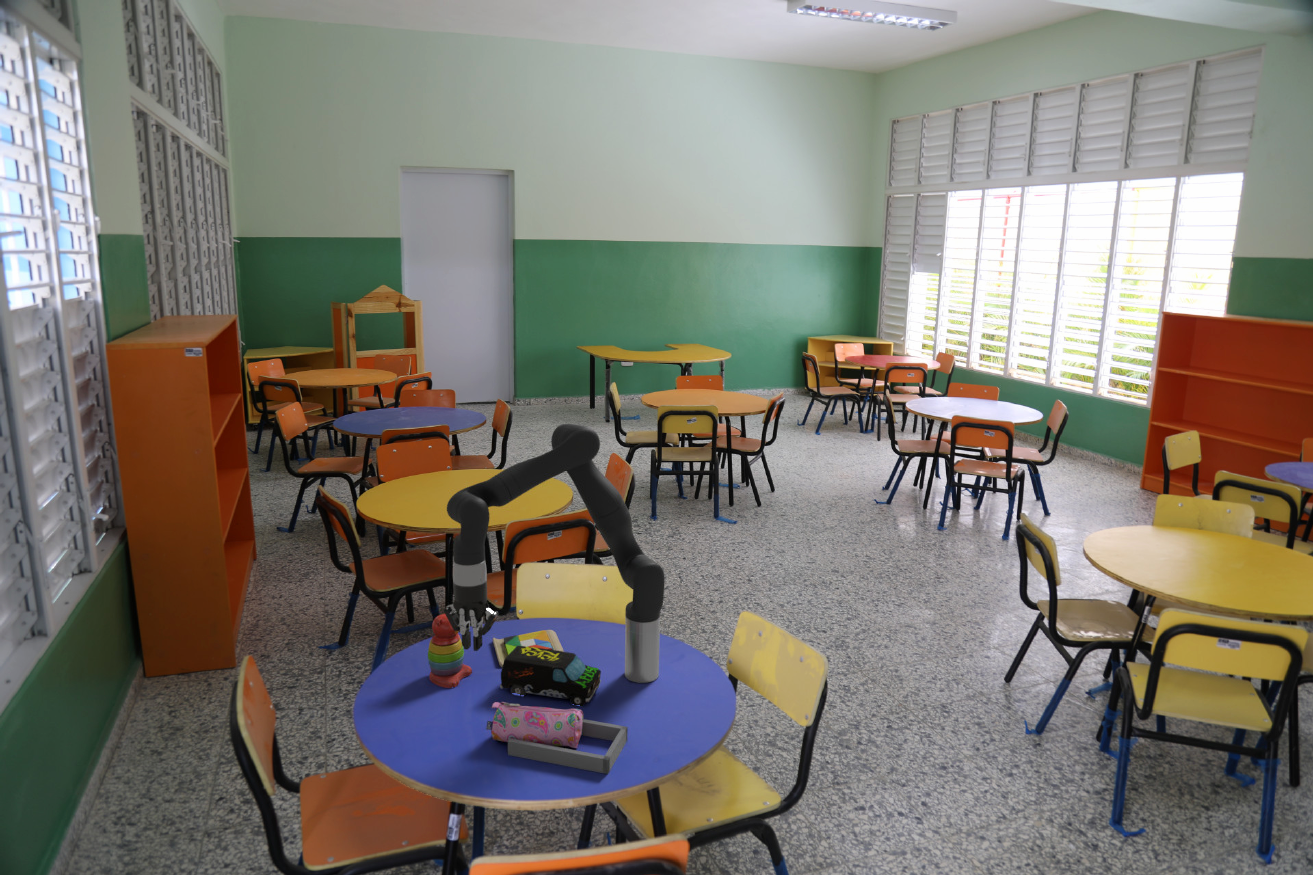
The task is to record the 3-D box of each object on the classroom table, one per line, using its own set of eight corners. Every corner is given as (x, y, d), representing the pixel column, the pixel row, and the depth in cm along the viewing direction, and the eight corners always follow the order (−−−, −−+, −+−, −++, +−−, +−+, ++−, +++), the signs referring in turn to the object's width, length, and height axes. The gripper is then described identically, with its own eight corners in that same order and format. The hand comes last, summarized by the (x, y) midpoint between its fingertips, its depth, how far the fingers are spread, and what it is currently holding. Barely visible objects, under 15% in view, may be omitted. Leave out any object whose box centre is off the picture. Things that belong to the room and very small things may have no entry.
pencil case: (486, 747, 196) (485, 711, 194) (499, 726, 204) (498, 692, 202) (576, 757, 192) (576, 721, 190) (586, 735, 201) (586, 701, 199)
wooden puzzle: (492, 642, 249) (491, 631, 248) (555, 635, 254) (555, 624, 253) (499, 670, 232) (499, 658, 232) (567, 661, 238) (567, 650, 237)
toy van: (589, 709, 213) (589, 672, 211) (498, 694, 219) (497, 658, 217) (602, 688, 223) (603, 653, 221) (515, 675, 229) (515, 640, 227)
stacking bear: (453, 689, 221) (451, 626, 217) (419, 683, 224) (417, 620, 220) (475, 671, 231) (473, 609, 227) (442, 664, 234) (440, 604, 230)
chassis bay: (533, 723, 206) (532, 710, 205) (627, 740, 199) (627, 726, 198) (507, 754, 193) (507, 740, 192) (608, 773, 186) (608, 759, 186)
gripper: (504, 576, 196) (506, 645, 200) (451, 569, 199) (453, 637, 203) (489, 588, 189) (491, 660, 192) (434, 580, 192) (437, 651, 196)
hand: (472, 648), depth 198 cm, fingers closed
